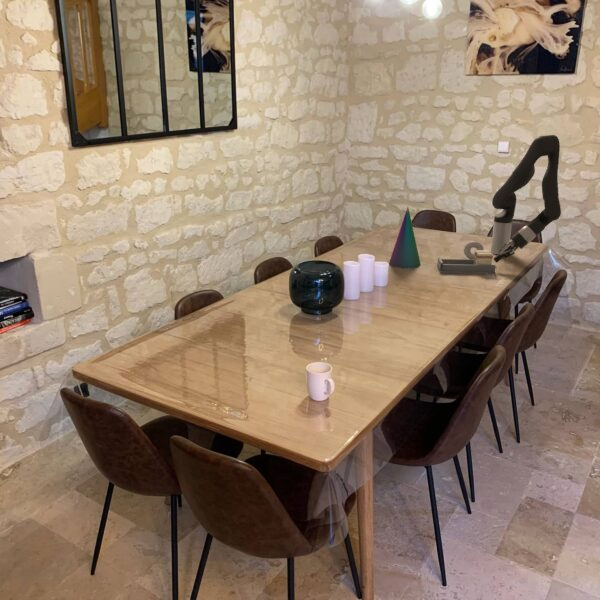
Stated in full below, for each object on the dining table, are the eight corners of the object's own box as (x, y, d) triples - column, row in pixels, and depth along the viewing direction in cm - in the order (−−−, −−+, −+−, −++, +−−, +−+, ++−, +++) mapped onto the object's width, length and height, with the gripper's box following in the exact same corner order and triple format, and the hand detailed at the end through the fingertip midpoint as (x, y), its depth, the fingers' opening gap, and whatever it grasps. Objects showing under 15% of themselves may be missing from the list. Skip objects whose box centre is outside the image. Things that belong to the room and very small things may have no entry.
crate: (473, 265, 293) (474, 250, 290) (488, 265, 292) (489, 250, 289) (476, 269, 286) (477, 253, 283) (491, 270, 285) (492, 254, 283)
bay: (436, 265, 298) (437, 255, 296) (489, 266, 296) (490, 256, 294) (440, 273, 285) (441, 263, 283) (495, 274, 283) (496, 264, 281)
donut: (482, 259, 308) (484, 240, 304) (482, 261, 305) (484, 242, 301) (462, 258, 310) (464, 239, 307) (462, 260, 307) (464, 241, 304)
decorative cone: (426, 263, 302) (430, 205, 292) (409, 270, 291) (413, 210, 280) (400, 257, 312) (403, 201, 302) (382, 264, 301) (385, 206, 291)
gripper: (515, 228, 288) (487, 252, 293) (522, 234, 275) (492, 259, 281) (524, 239, 289) (496, 262, 294) (532, 245, 277) (503, 270, 282)
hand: (494, 260), depth 287 cm, fingers closed
